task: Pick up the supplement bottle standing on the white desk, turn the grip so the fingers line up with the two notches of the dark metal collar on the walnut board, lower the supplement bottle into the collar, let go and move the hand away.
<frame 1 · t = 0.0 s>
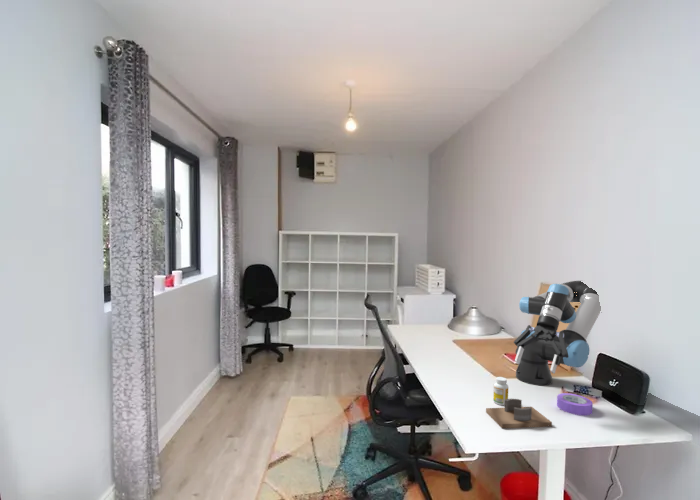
hand: (533, 367, 144), 15 cm above the table, tool tilted 35°, fingers open, 13 cm apart
collar board: (517, 419, 134), on the table
supplement bottle: (500, 403, 147), on the table
masking tape: (574, 409, 143), on the table
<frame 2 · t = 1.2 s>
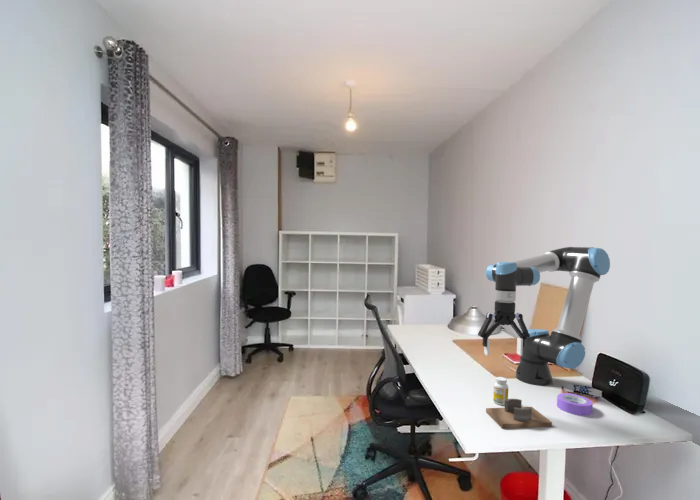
hand: (503, 354, 147), 19 cm above the table, tool pointing down, fingers open, 13 cm apart
nothing on the table moved.
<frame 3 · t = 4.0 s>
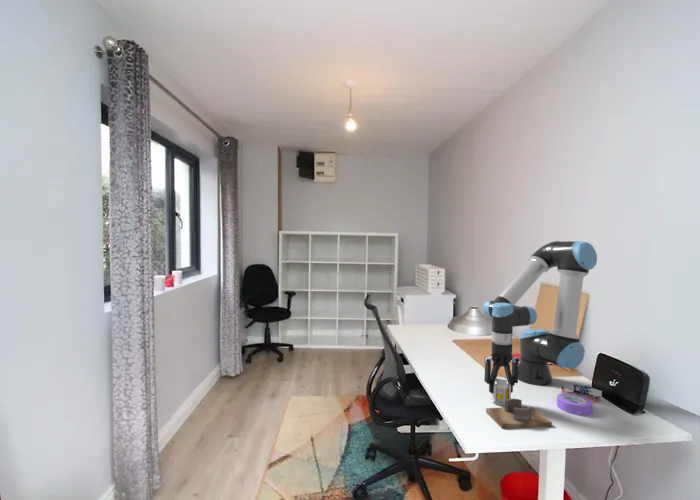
hand: (500, 400, 147), 1 cm above the table, tool pointing down, fingers closed on supplement bottle, 5 cm apart
supplement bottle: (500, 403, 147), on the table, touching gripper
everything else where it was.
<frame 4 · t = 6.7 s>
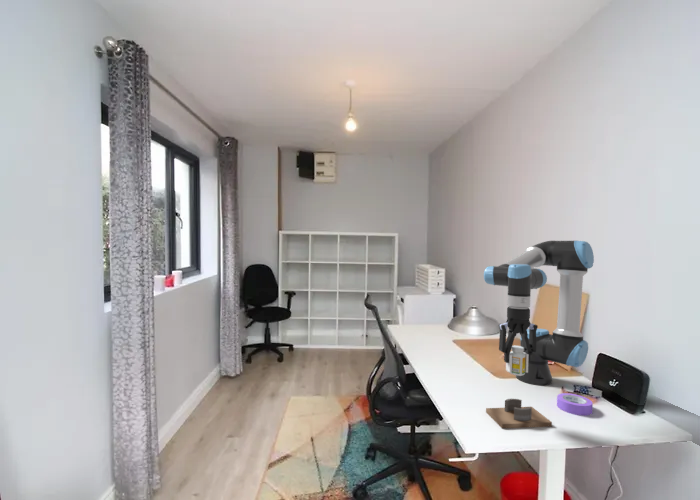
hand: (516, 371, 134), 17 cm above the table, tool pointing down, fingers closed on supplement bottle, 5 cm apart
supplement bottle: (516, 374, 134), point 16 cm above the table, touching gripper
everything else where it was.
when the fingers open (4 cm above the table, at t = 9.3 s): supplement bottle drops 2 cm, resting on collar board.
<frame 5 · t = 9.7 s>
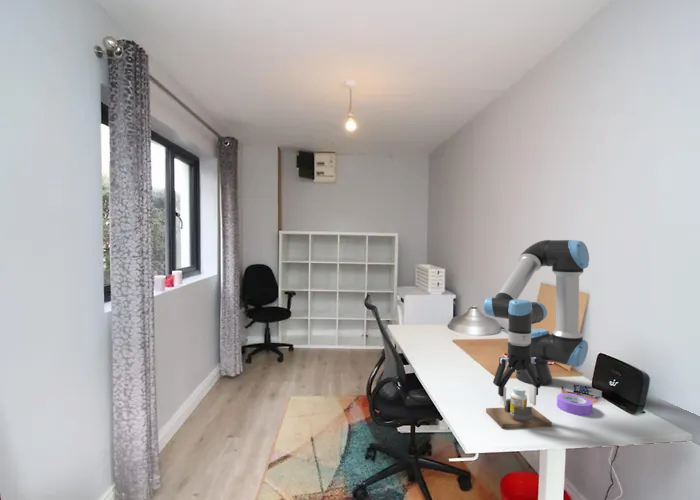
hand: (517, 404, 134), 5 cm above the table, tool pointing down, fingers open, 10 cm apart
supplement bottle: (518, 415, 134), point 1 cm above the table, touching collar board
everything else where it was.
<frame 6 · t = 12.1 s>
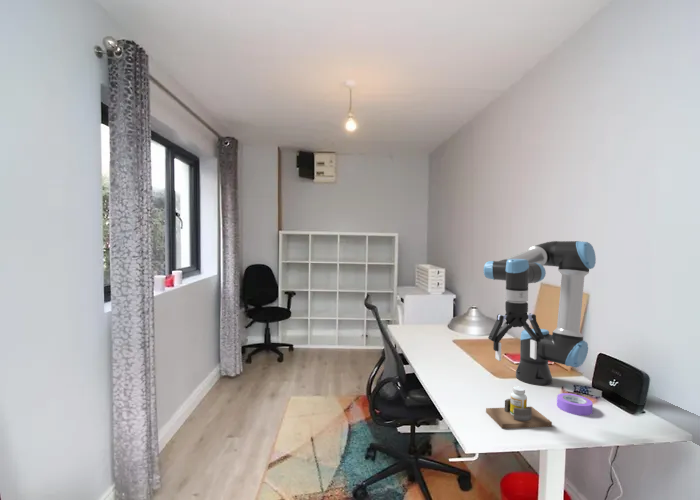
hand: (515, 359, 136), 21 cm above the table, tool pointing down, fingers open, 13 cm apart
nothing on the table moved.
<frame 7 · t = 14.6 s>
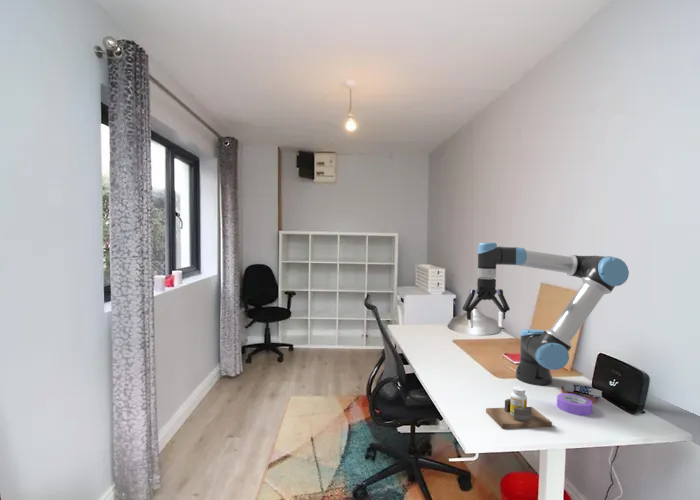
hand: (485, 327, 161), 27 cm above the table, tool pointing down, fingers open, 13 cm apart
nothing on the table moved.
at the end: supplement bottle 0.2 cm off-centre on the collar board, point 1.3 cm above the collar board's base; supplement bottle tilted 0°; the gripper is holding nothing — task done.
